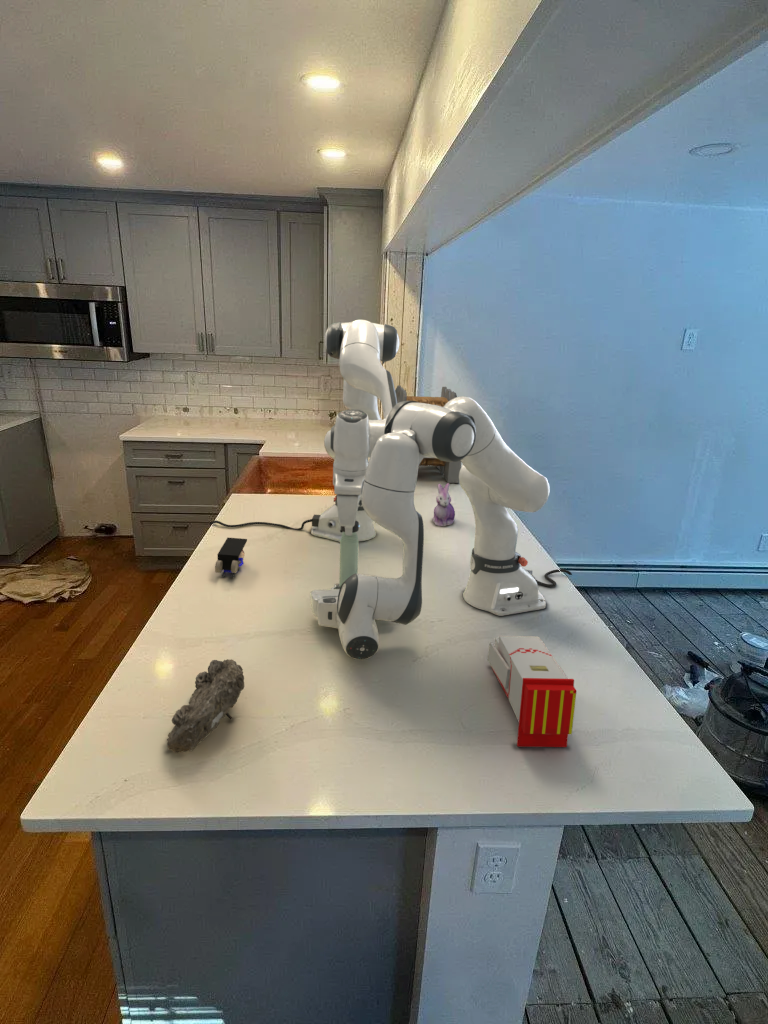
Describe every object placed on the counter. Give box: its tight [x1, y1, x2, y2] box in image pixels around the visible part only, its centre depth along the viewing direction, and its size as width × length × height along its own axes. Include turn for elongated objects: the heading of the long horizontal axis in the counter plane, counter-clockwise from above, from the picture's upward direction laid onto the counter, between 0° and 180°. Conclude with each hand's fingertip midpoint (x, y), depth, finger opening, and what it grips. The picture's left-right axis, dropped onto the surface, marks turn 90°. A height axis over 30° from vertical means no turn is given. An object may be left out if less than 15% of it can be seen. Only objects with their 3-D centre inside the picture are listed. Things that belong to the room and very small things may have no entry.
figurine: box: [432, 482, 456, 527], centre depth 210 cm, size 9×10×15 cm
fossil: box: [166, 658, 245, 754], centre depth 106 cm, size 22×10×15 cm
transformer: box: [395, 384, 462, 484], centre depth 268 cm, size 34×33×41 cm
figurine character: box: [214, 537, 248, 578], centre depth 166 cm, size 7×8×15 cm
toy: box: [486, 635, 577, 748], centre depth 115 cm, size 12×13×30 cm
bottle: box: [338, 532, 360, 587], centre depth 147 cm, size 5×5×23 cm
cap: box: [341, 520, 359, 533], centre depth 143 cm, size 4×5×2 cm
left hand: (349, 530), depth 143 cm, fingers closed on cap, 4 cm apart
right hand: (347, 585), depth 150 cm, fingers closed on bottle, 5 cm apart
